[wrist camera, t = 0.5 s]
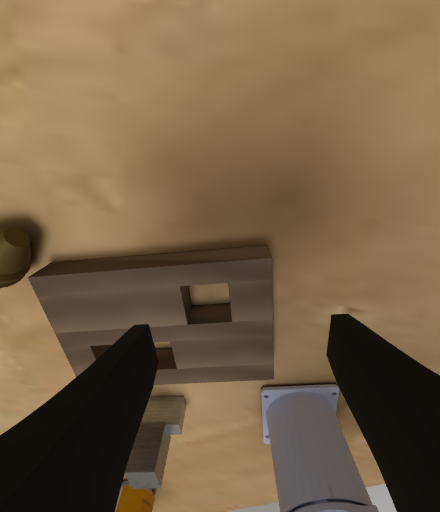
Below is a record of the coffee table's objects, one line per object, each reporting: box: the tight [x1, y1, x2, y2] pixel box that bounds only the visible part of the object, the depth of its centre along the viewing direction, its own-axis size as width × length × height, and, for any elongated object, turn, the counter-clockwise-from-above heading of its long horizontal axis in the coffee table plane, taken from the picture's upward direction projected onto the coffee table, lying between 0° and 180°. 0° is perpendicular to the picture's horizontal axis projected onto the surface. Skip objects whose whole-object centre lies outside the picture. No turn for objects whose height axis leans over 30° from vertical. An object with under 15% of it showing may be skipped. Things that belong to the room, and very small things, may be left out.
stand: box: [28, 245, 274, 385], centre depth 20 cm, size 12×18×2 cm, turn 96°
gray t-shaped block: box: [125, 396, 186, 489], centre depth 23 cm, size 3×5×7 cm, turn 96°
